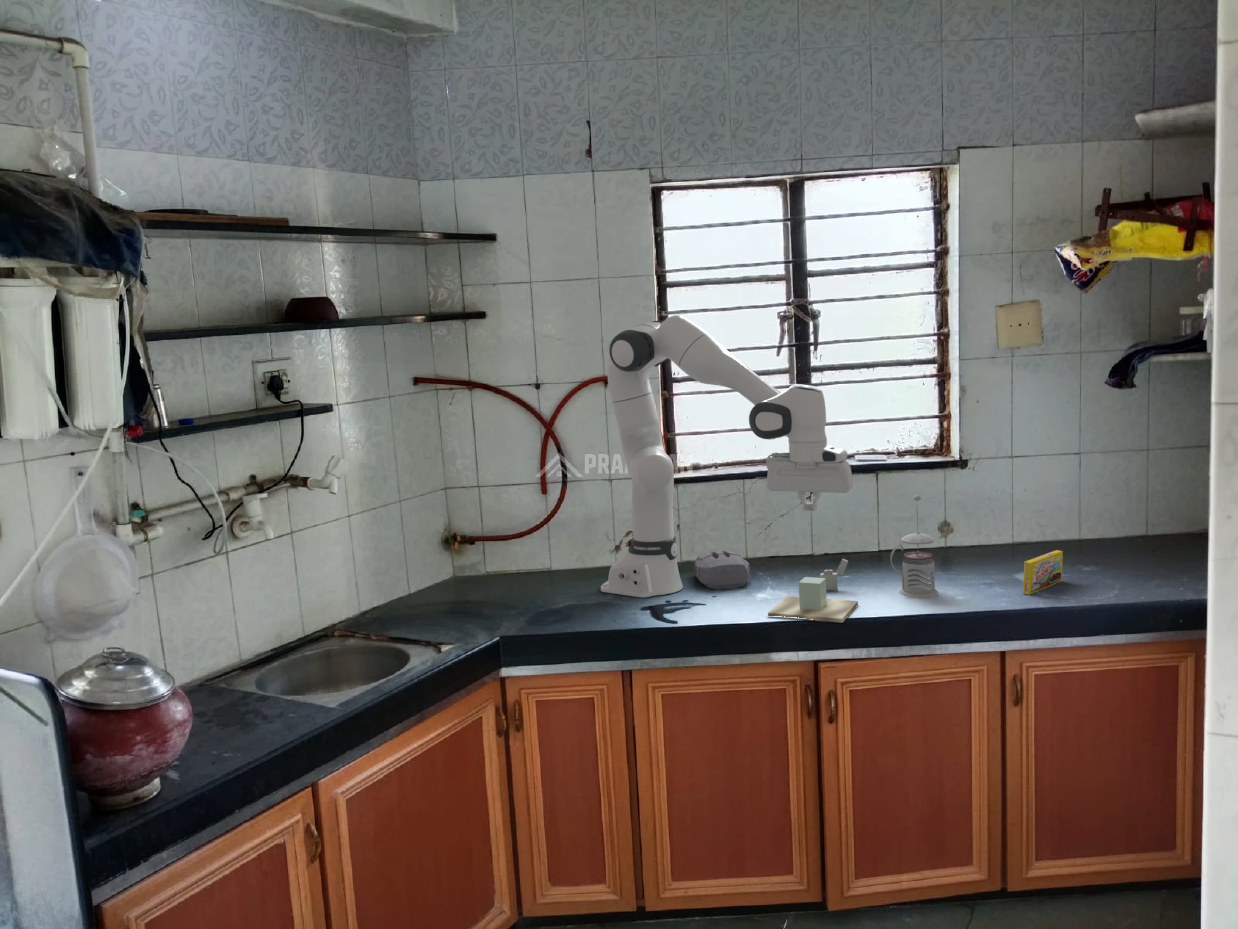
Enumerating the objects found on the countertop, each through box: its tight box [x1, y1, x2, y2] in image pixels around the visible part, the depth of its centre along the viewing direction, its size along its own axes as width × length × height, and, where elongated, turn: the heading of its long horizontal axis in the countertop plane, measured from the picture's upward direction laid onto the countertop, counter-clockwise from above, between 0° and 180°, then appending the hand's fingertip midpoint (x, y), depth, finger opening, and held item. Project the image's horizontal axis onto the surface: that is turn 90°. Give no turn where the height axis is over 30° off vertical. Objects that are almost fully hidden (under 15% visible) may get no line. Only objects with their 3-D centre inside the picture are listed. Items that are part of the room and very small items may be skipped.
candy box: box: [1022, 549, 1064, 596], centre depth 247 cm, size 16×2×8 cm, turn 129°
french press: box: [889, 494, 940, 599], centre depth 248 cm, size 10×12×25 cm
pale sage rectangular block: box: [798, 576, 828, 611], centre depth 239 cm, size 5×5×7 cm
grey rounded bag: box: [694, 550, 751, 590], centre depth 273 cm, size 15×8×20 cm
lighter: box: [819, 558, 849, 592], centre depth 257 cm, size 7×2×8 cm, turn 87°
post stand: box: [767, 595, 859, 624], centre depth 239 cm, size 18×15×6 cm
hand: (809, 510), depth 236 cm, fingers closed
